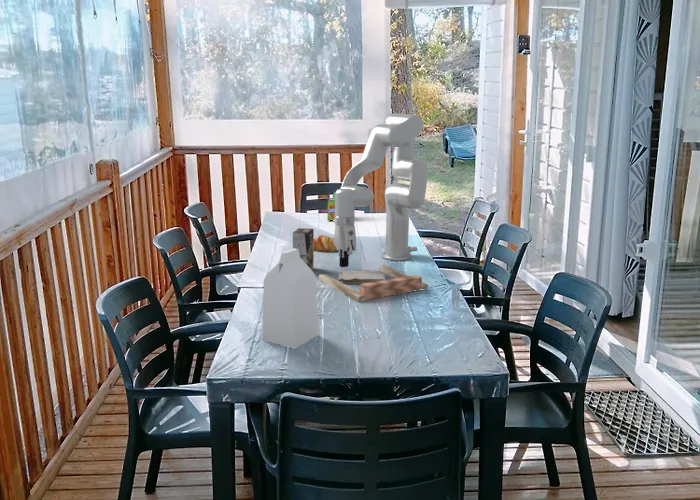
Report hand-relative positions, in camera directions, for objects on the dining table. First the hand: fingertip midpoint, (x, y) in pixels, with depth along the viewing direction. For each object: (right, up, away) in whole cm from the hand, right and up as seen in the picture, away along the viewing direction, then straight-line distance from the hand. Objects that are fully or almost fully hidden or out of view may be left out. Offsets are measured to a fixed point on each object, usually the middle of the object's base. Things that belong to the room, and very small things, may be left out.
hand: (343, 266), depth 258 cm
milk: (-15, -19, -68) cm, 72 cm away
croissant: (-8, +6, +33) cm, 35 cm away
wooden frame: (+11, -6, -17) cm, 21 cm away
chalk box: (-4, +22, +96) cm, 99 cm away
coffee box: (-16, -2, +1) cm, 16 cm away
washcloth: (+7, -5, -11) cm, 14 cm away
